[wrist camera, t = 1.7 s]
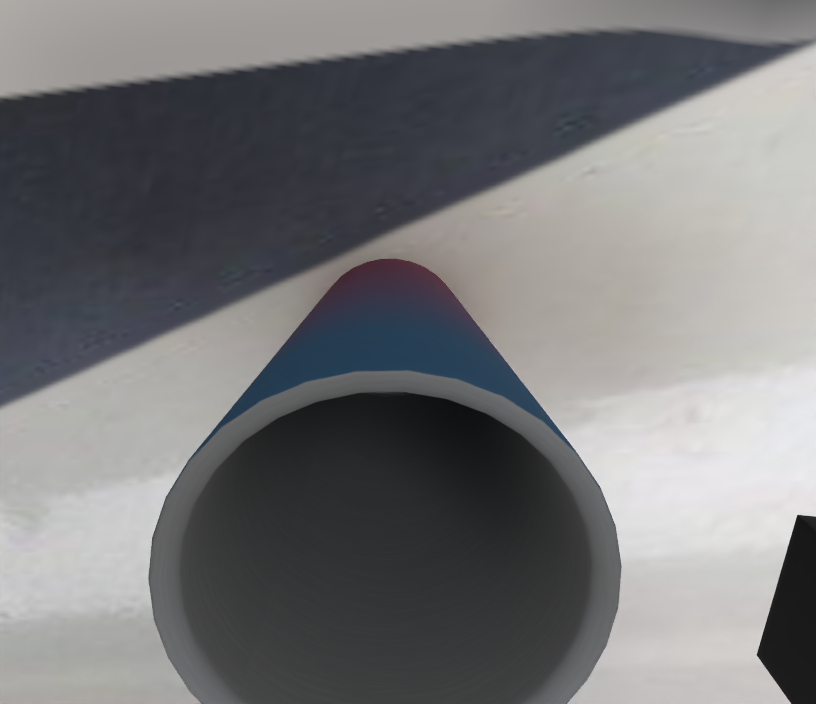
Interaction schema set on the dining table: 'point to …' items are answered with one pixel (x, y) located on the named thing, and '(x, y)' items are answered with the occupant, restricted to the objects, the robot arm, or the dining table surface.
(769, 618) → the robot arm
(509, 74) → the dining table surface
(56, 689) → the dining table surface
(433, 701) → the cup
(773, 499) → the dining table surface
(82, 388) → the dining table surface
